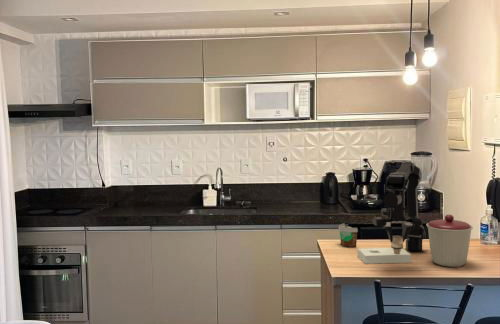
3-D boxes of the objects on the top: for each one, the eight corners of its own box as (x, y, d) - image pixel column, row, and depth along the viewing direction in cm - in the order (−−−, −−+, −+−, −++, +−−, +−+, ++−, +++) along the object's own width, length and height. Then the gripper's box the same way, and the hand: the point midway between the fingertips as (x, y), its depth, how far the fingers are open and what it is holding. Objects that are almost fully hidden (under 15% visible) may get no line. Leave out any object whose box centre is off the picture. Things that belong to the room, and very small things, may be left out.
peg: (400, 252, 187) (400, 235, 187) (404, 255, 183) (404, 238, 182) (389, 252, 187) (389, 235, 187) (393, 255, 183) (393, 238, 182)
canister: (444, 271, 180) (444, 220, 179) (417, 259, 198) (417, 212, 196) (482, 267, 184) (483, 217, 183) (452, 256, 202) (453, 210, 201)
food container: (333, 243, 229) (333, 224, 228) (344, 242, 231) (344, 223, 230) (347, 249, 217) (347, 229, 217) (357, 248, 219) (357, 227, 219)
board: (401, 255, 206) (401, 247, 205) (411, 262, 194) (411, 254, 193) (357, 256, 205) (357, 248, 205) (365, 263, 193) (365, 255, 193)
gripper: (412, 201, 192) (411, 237, 193) (368, 201, 191) (368, 238, 192) (422, 205, 181) (422, 243, 182) (376, 206, 180) (376, 244, 181)
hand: (397, 242), depth 185 cm, fingers closed on peg, 5 cm apart
